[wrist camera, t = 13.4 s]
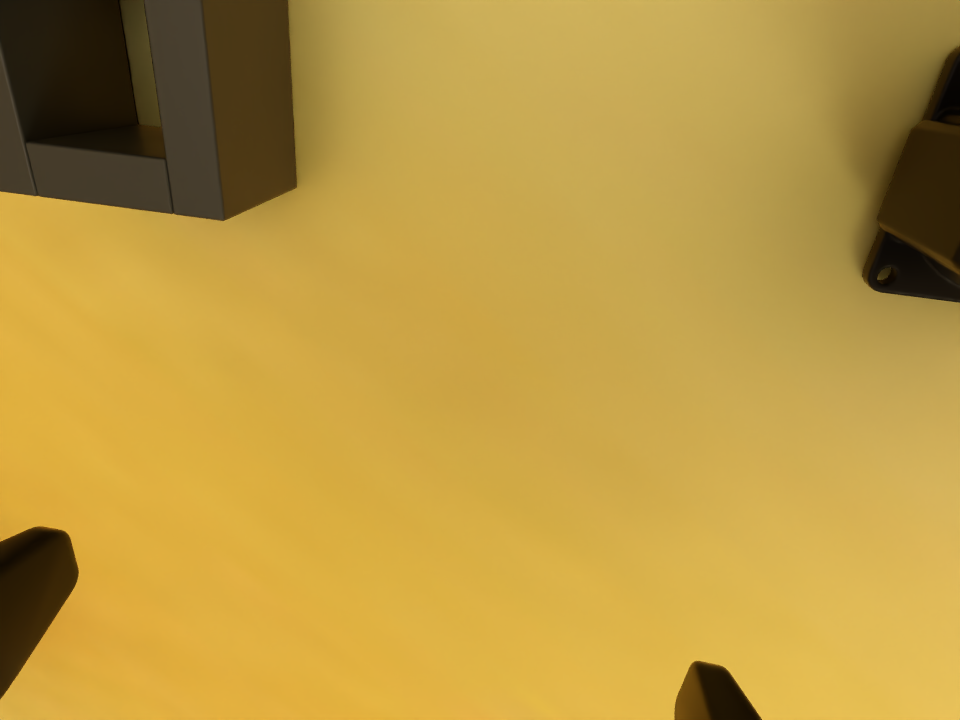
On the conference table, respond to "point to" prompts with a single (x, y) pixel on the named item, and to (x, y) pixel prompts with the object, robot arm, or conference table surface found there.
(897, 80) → the conference table surface
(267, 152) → the organiser
